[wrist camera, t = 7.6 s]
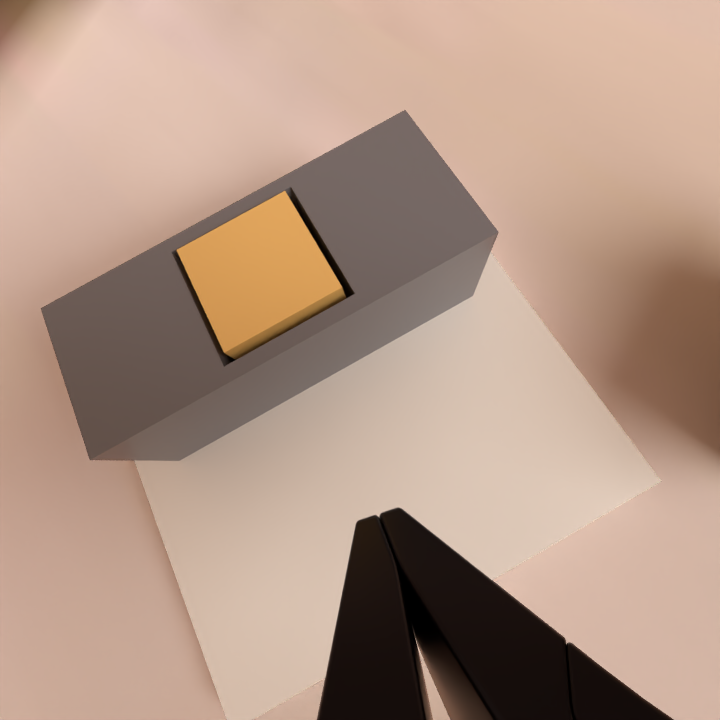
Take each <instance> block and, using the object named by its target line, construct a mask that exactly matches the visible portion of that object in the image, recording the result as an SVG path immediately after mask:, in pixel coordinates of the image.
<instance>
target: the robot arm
mask: <svg viewBox="0 0 720 720" xmlns="http://www.w3.org/2000/svg"><path fill="white" fill-rule="evenodd" d="M415 638H416V639H415ZM416 641H417V644H418V646H419V649H420V651H421V654H422V656H423V658H424V661H425V663H426V665H427V668H428V670H429V672H430V674H431V677H432V679H433V681H434V683H435V686H436V688H437V690H438V692H439V695H440V697H441V699H442V701H443V704H444V706H445V708H446V710H447V713H448V715H449V717H450V720H674V719H672V718H671V717H669V716H668V715H666V714H665V713H663V712H662V711H661V710H659V709H658V708H656V707H655V706H653V705H652V704H651V703H649V702H648V701H646V700H645V699H643V698H642V697H641V696H639V695H638V694H637V693H635V692H634V691H633V690H632V689H630V688H629V687H628V686H626V685H625V684H624V683H622V682H621V681H620V680H618V679H617V678H616V677H614V676H613V675H612V674H610V673H609V672H608V671H606V670H605V669H604V668H602V667H601V666H600V665H599V664H597V663H596V662H595V661H594V660H592V659H591V658H590V657H589V656H587V655H586V654H585V653H584V652H582V651H581V650H580V649H579V648H577V647H576V646H575V645H574V644H572V643H570V642H569V643H567V645H566V640H565V638H564V637H563V636H562V635H561V634H559V633H558V632H557V631H556V630H554V629H553V628H552V627H550V626H549V625H548V624H547V623H545V622H544V621H543V620H542V619H540V618H539V617H538V616H537V615H535V614H534V613H533V612H532V611H530V610H529V609H528V608H527V607H525V606H524V605H523V604H522V603H520V602H519V601H518V600H516V599H515V598H514V597H513V596H511V595H510V594H509V593H508V592H506V591H505V590H504V589H503V588H501V587H500V586H499V585H498V584H496V583H495V582H494V581H493V580H491V579H490V578H489V577H488V576H486V575H485V574H484V573H483V572H481V571H480V570H479V569H477V568H476V567H475V566H474V565H472V564H471V563H470V562H469V561H467V560H466V559H465V558H464V557H462V556H461V555H460V554H459V553H457V552H456V551H455V550H454V549H452V548H451V547H450V546H449V545H447V544H446V543H445V542H443V541H442V540H441V539H440V538H438V537H437V536H436V535H435V534H433V533H432V532H431V531H430V530H428V529H427V528H426V527H425V526H423V525H422V524H421V523H420V522H418V521H417V520H416V519H415V518H413V517H412V516H411V515H409V514H408V513H407V512H406V511H404V510H403V509H402V508H399V507H397V508H394V509H391V510H388V511H385V512H382V513H381V514H380V516H379V517H378V516H377V515H372V516H369V517H366V518H363V519H360V520H358V521H357V522H356V525H355V530H354V535H353V540H352V545H351V550H350V555H349V560H348V565H347V570H346V575H345V580H344V585H343V590H342V596H341V601H340V606H339V611H338V616H337V621H336V626H335V631H334V636H333V641H332V646H331V651H330V656H329V661H328V666H327V671H326V676H325V682H324V687H323V692H322V697H321V702H320V707H319V712H318V717H317V720H433V718H432V713H431V708H430V704H429V699H428V694H427V689H426V684H425V680H424V675H423V670H422V665H421V661H420V656H419V652H418V648H417V644H416Z"/></svg>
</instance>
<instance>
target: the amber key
mask: <svg viewBox="0 0 720 720" xmlns="http://www.w3.org/2000/svg"><path fill="white" fill-rule="evenodd" d="M177 252H178V254H179V256H180V259H181V261H182V263H183V265H184V267H185V269H186V272H187V274H188V276H189V278H190V280H191V282H192V285H193V287H194V289H195V291H196V293H197V295H198V298H199V300H200V302H201V304H202V306H203V308H204V311H205V313H206V315H207V317H208V319H209V321H210V323H211V326H212V328H213V330H214V332H215V334H216V336H217V339H218V341H219V343H220V345H221V347H222V349H223V352H224V353H225V354H227V355H228V356H230V357H232V358H233V359H235V360H237V359H239V358H241V357H242V356H244V355H246V354H248V353H250V352H251V351H253V350H255V349H257V348H259V347H260V346H262V345H264V344H266V343H268V342H269V341H271V340H273V339H275V338H276V337H278V336H280V335H282V334H284V333H285V332H287V331H289V330H291V329H293V328H294V327H296V326H298V325H300V324H302V323H303V322H305V321H307V320H309V319H311V318H312V317H314V316H316V315H318V314H320V313H321V312H323V311H325V310H327V309H329V308H330V307H332V306H334V305H336V304H338V303H339V302H341V301H343V300H345V299H346V296H345V294H344V291H343V288H342V286H341V284H340V283H339V281H338V279H337V278H336V276H335V274H334V272H333V271H332V269H331V267H330V266H329V264H328V262H327V261H326V259H325V257H324V256H323V254H322V252H321V251H320V249H319V247H318V245H317V244H316V242H315V240H314V239H313V237H312V235H311V234H310V232H309V230H308V229H307V227H306V225H305V224H304V222H303V220H302V218H301V217H300V215H299V213H298V212H297V210H296V208H295V207H294V205H293V203H292V202H291V200H290V198H289V196H288V195H287V193H286V191H283V192H282V193H280V194H278V195H276V196H274V197H273V198H271V199H269V200H267V201H265V202H263V203H262V204H260V205H258V206H256V207H254V208H252V209H251V210H249V211H247V212H245V213H243V214H241V215H240V216H238V217H236V218H234V219H232V220H230V221H229V222H227V223H225V224H223V225H221V226H219V227H218V228H216V229H214V230H212V231H210V232H208V233H207V234H205V235H203V236H201V237H199V238H197V239H196V240H194V241H192V242H190V243H188V244H186V245H185V246H183V247H181V248H179V249H177Z"/></svg>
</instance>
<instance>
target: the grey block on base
mask: <svg viewBox="0 0 720 720" xmlns="http://www.w3.org/2000/svg"><path fill="white" fill-rule="evenodd" d="M283 191H286V193H287V195H288V196H289V198H290V200H291V202H292V203H293V205H294V207H295V208H296V210H297V212H298V213H299V215H300V217H301V218H302V220H303V222H304V224H305V225H306V227H307V229H308V230H309V232H310V234H311V235H312V237H313V239H314V240H315V242H316V244H317V245H318V247H319V249H320V251H321V252H322V254H323V256H324V257H325V259H326V261H327V262H328V264H329V266H330V267H331V269H332V271H333V272H334V274H335V276H336V278H337V279H338V281H339V283H340V284H341V286H342V288H343V291H344V294H345V296H346V299H345V300H343V301H341V302H339V303H338V304H336V305H334V306H332V307H330V308H329V309H327V310H325V311H323V312H321V313H320V314H318V315H316V316H314V317H312V318H311V319H309V320H307V321H305V322H303V323H302V324H300V325H298V326H296V327H294V328H293V329H291V330H289V331H287V332H285V333H284V334H282V335H280V336H278V337H276V338H275V339H273V340H271V341H269V342H268V343H266V344H264V345H262V346H260V347H259V348H257V349H255V350H253V351H251V352H250V353H248V354H246V355H244V356H242V357H241V358H239V359H237V360H235V359H233V358H232V357H230V356H228V355H227V354H225V353H224V352H223V349H222V347H221V345H220V343H219V341H218V339H217V336H216V334H215V332H214V330H213V328H212V326H211V323H210V321H209V319H208V317H207V315H206V313H205V311H204V308H203V306H202V304H201V302H200V300H199V298H198V295H197V293H196V291H195V289H194V287H193V285H192V282H191V280H190V278H189V276H188V274H187V272H186V269H185V267H184V265H183V263H182V261H181V259H180V256H179V254H178V252H177V249H179V248H181V247H183V246H185V245H186V244H188V243H190V242H192V241H194V240H196V239H197V238H199V237H201V236H203V235H205V234H207V233H208V232H210V231H212V230H214V229H216V228H218V227H219V226H221V225H223V224H225V223H227V222H229V221H230V220H232V219H234V218H236V217H238V216H240V215H241V214H243V213H245V212H247V211H249V210H251V209H252V208H254V207H256V206H258V205H260V204H262V203H263V202H265V201H267V200H269V199H271V198H273V197H274V196H276V195H278V194H280V193H282V192H283ZM497 235H498V231H497V229H496V228H495V227H494V225H493V224H492V223H491V222H490V220H489V219H488V218H487V216H486V215H485V214H484V212H483V211H482V210H481V208H480V207H479V206H478V205H477V203H476V202H475V201H474V199H473V198H472V197H471V195H470V194H469V193H468V191H467V190H466V189H465V188H464V186H463V185H462V184H461V182H460V181H459V180H458V178H457V177H456V176H455V174H454V173H453V172H452V171H451V169H450V168H449V167H448V165H447V164H446V163H445V161H444V160H443V159H442V158H441V156H440V155H439V154H438V152H437V151H436V150H435V148H434V147H433V146H432V144H431V143H430V142H429V141H428V139H427V138H426V137H425V135H424V134H423V133H422V131H421V130H420V129H419V127H418V126H417V125H416V124H415V122H414V121H413V120H412V118H411V117H410V116H409V114H408V113H407V112H406V110H404V111H402V112H400V113H399V114H397V115H395V116H393V117H391V118H389V119H388V120H386V121H384V122H382V123H380V124H378V125H377V126H375V127H373V128H371V129H369V130H367V131H366V132H364V133H362V134H360V135H358V136H356V137H355V138H353V139H351V140H349V141H347V142H345V143H344V144H342V145H340V146H338V147H336V148H334V149H333V150H331V151H329V152H327V153H325V154H323V155H322V156H320V157H318V158H316V159H314V160H312V161H311V162H309V163H307V164H305V165H303V166H301V167H300V168H298V169H296V170H294V171H292V172H290V173H288V174H287V175H285V176H283V177H281V178H279V179H277V180H276V181H274V182H272V183H270V184H268V185H266V186H265V187H263V188H261V189H259V190H257V191H255V192H254V193H252V194H250V195H248V196H246V197H244V198H243V199H241V200H239V201H237V202H235V203H233V204H232V205H230V206H228V207H226V208H224V209H222V210H221V211H219V212H217V213H215V214H213V215H211V216H210V217H208V218H206V219H204V220H202V221H200V222H199V223H197V224H195V225H193V226H191V227H189V228H188V229H186V230H184V231H182V232H180V233H178V234H177V235H175V236H173V237H171V238H169V239H167V240H166V241H164V242H162V243H160V244H158V245H156V246H154V247H153V248H151V249H149V250H147V251H145V252H143V253H142V254H140V255H138V256H136V257H134V258H132V259H131V260H129V261H127V262H125V263H123V264H121V265H120V266H118V267H116V268H114V269H112V270H110V271H109V272H107V273H105V274H103V275H101V276H99V277H98V278H96V279H94V280H92V281H90V282H88V283H87V284H85V285H83V286H81V287H79V288H77V289H76V290H74V291H72V292H70V293H68V294H66V295H65V296H63V297H61V298H59V299H57V300H55V301H54V302H52V303H50V304H48V305H46V306H44V307H43V308H41V310H42V314H43V317H44V320H45V323H46V326H47V329H48V332H49V335H50V338H51V341H52V344H53V348H54V351H55V354H56V357H57V360H58V363H59V366H60V369H61V372H62V375H63V378H64V382H65V385H66V388H67V391H68V394H69V397H70V400H71V403H72V406H73V409H74V412H75V416H76V419H77V422H78V425H79V428H80V431H81V434H82V437H83V440H84V443H85V446H86V449H87V453H88V456H89V459H90V460H134V462H135V465H136V468H137V470H138V473H139V476H140V479H141V482H142V484H143V487H144V490H145V493H146V496H147V498H148V501H149V504H150V507H151V510H152V512H153V515H154V518H155V521H156V524H157V526H158V529H159V532H160V535H161V538H162V540H163V543H164V546H165V549H166V552H167V554H168V557H169V560H170V563H171V566H172V568H173V571H174V574H175V577H176V580H177V582H178V585H179V588H180V591H181V594H182V596H183V599H184V602H185V605H186V608H187V610H188V613H189V616H190V619H191V622H192V624H193V627H194V630H195V633H196V636H197V639H198V641H199V644H200V647H201V650H202V653H203V655H204V658H205V661H206V664H207V667H208V669H209V672H210V675H211V678H212V681H213V683H214V686H215V689H216V692H217V695H218V697H219V700H220V703H221V706H222V709H223V711H224V714H225V717H226V720H254V719H256V718H258V717H259V716H261V715H263V714H264V713H266V712H268V711H270V710H271V709H273V708H275V707H276V706H278V705H280V704H282V703H283V702H285V701H287V700H288V699H290V698H292V697H294V696H295V695H297V694H299V693H300V692H302V691H304V690H306V689H307V688H309V687H311V686H312V685H314V684H316V683H318V682H319V681H321V680H323V679H324V678H325V676H326V671H327V666H328V661H329V656H330V651H331V646H332V641H333V636H334V631H335V626H336V621H337V616H338V611H339V606H340V601H341V596H342V590H343V585H344V580H345V575H346V570H347V565H348V560H349V555H350V550H351V545H352V540H353V535H354V530H355V525H356V522H357V521H358V520H360V519H363V518H366V517H369V516H372V515H377V516H378V517H379V516H380V514H381V513H382V512H385V511H388V510H391V509H394V508H397V507H399V508H402V509H403V510H404V511H406V512H407V513H408V514H409V515H411V516H412V517H413V518H415V519H416V520H417V521H418V522H420V523H421V524H422V525H423V526H425V527H426V528H427V529H428V530H430V531H431V532H432V533H433V534H435V535H436V536H437V537H438V538H440V539H441V540H442V541H443V542H445V543H446V544H447V545H449V546H450V547H451V548H452V549H454V550H455V551H456V552H457V553H459V554H460V555H461V556H462V557H464V558H465V559H466V560H467V561H469V562H470V563H471V564H472V565H474V566H475V567H476V568H477V569H479V570H480V571H481V572H483V573H484V574H485V575H486V576H488V577H489V578H490V579H491V580H494V579H496V578H497V577H499V576H501V575H503V574H504V573H506V572H508V571H509V570H511V569H513V568H515V567H516V566H518V565H520V564H521V563H523V562H525V561H526V560H528V559H530V558H532V557H533V556H535V555H537V554H538V553H540V552H542V551H544V550H545V549H547V548H549V547H550V546H552V545H554V544H556V543H557V542H559V541H561V540H562V539H564V538H566V537H568V536H569V535H571V534H573V533H574V532H576V531H578V530H580V529H581V528H583V527H585V526H586V525H588V524H590V523H592V522H593V521H595V520H597V519H598V518H600V517H602V516H604V515H605V514H607V513H609V512H610V511H612V510H614V509H616V508H617V507H619V506H621V505H622V504H624V503H626V502H628V501H629V500H631V499H633V498H634V497H636V496H638V495H640V494H641V493H643V492H645V491H646V490H648V489H650V488H652V487H653V486H655V485H657V484H658V483H660V482H662V481H661V480H660V478H659V477H658V476H657V474H656V473H655V472H654V470H653V469H652V468H651V466H650V465H649V464H648V462H647V461H646V459H645V458H644V457H643V455H642V454H641V453H640V451H639V450H638V449H637V447H636V446H635V445H634V443H633V442H632V441H631V439H630V438H629V437H628V435H627V434H626V433H625V431H624V430H623V429H622V427H621V426H620V425H619V423H618V422H617V421H616V419H615V418H614V416H613V415H612V414H611V412H610V411H609V410H608V408H607V407H606V406H605V404H604V403H603V402H602V400H601V399H600V398H599V396H598V395H597V394H596V392H595V391H594V390H593V388H592V387H591V386H590V384H589V383H588V382H587V380H586V379H585V378H584V376H583V375H582V374H581V372H580V371H579V369H578V368H577V367H576V365H575V364H574V363H573V361H572V360H571V359H570V357H569V356H568V355H567V353H566V352H565V351H564V349H563V348H562V347H561V345H560V344H559V343H558V341H557V340H556V339H555V337H554V336H553V335H552V333H551V332H550V331H549V329H548V328H547V327H546V325H545V324H544V322H543V321H542V320H541V318H540V317H539V316H538V314H537V313H536V312H535V310H534V309H533V308H532V306H531V305H530V304H529V302H528V301H527V300H526V298H525V297H524V296H523V294H522V293H521V292H520V290H519V289H518V288H517V286H516V285H515V284H514V282H513V281H512V279H511V278H510V277H509V275H508V274H507V273H506V271H505V270H504V269H503V267H502V266H501V265H500V263H499V262H498V261H497V259H496V258H495V257H494V255H493V254H492V253H491V250H492V247H493V245H494V242H495V240H496V237H497Z"/></svg>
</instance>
